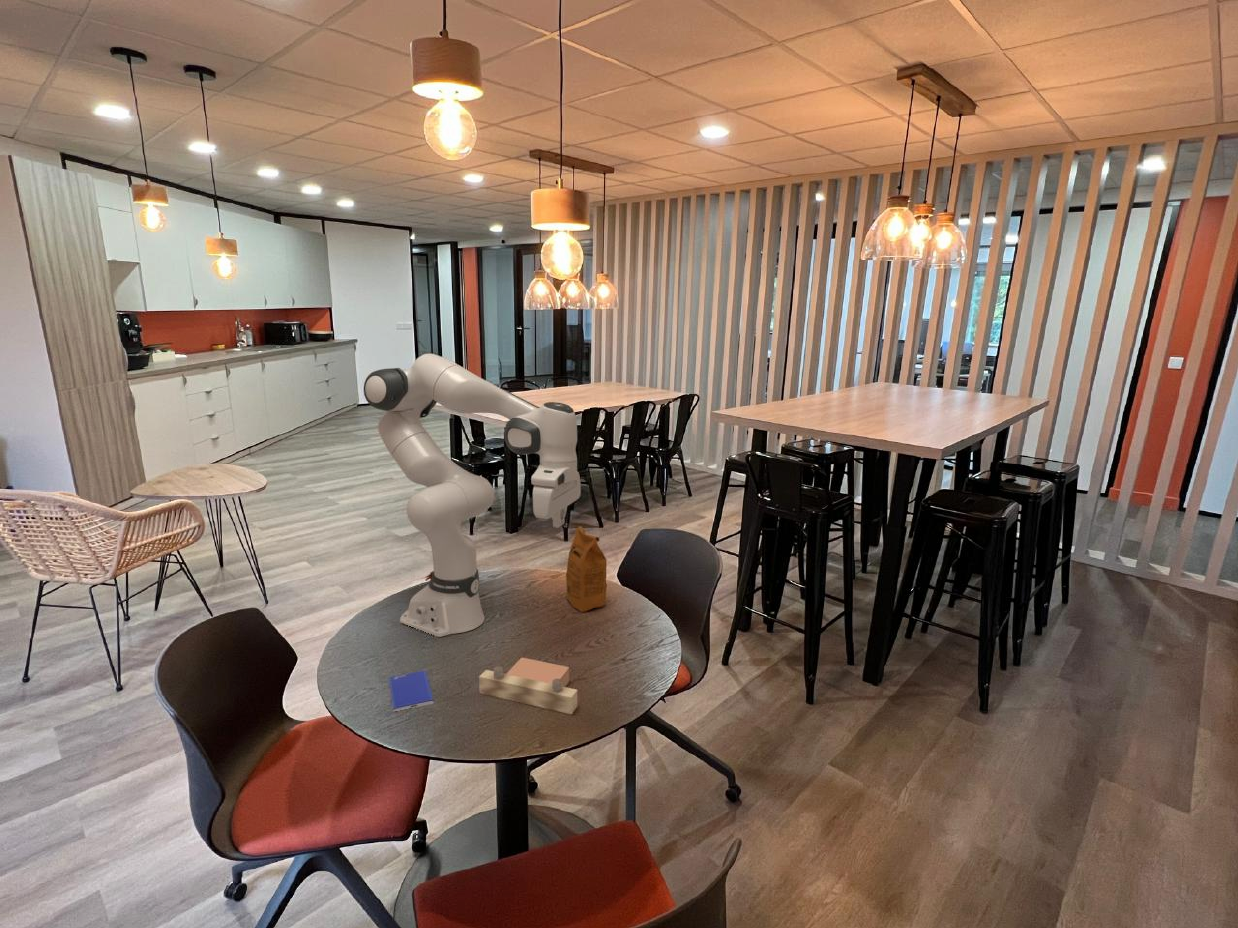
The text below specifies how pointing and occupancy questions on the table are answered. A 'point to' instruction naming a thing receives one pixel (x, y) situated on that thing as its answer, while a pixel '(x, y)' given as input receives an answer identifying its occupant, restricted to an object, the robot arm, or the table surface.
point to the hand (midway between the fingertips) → (558, 525)
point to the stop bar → (528, 691)
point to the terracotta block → (540, 671)
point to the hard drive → (410, 690)
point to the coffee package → (586, 573)
